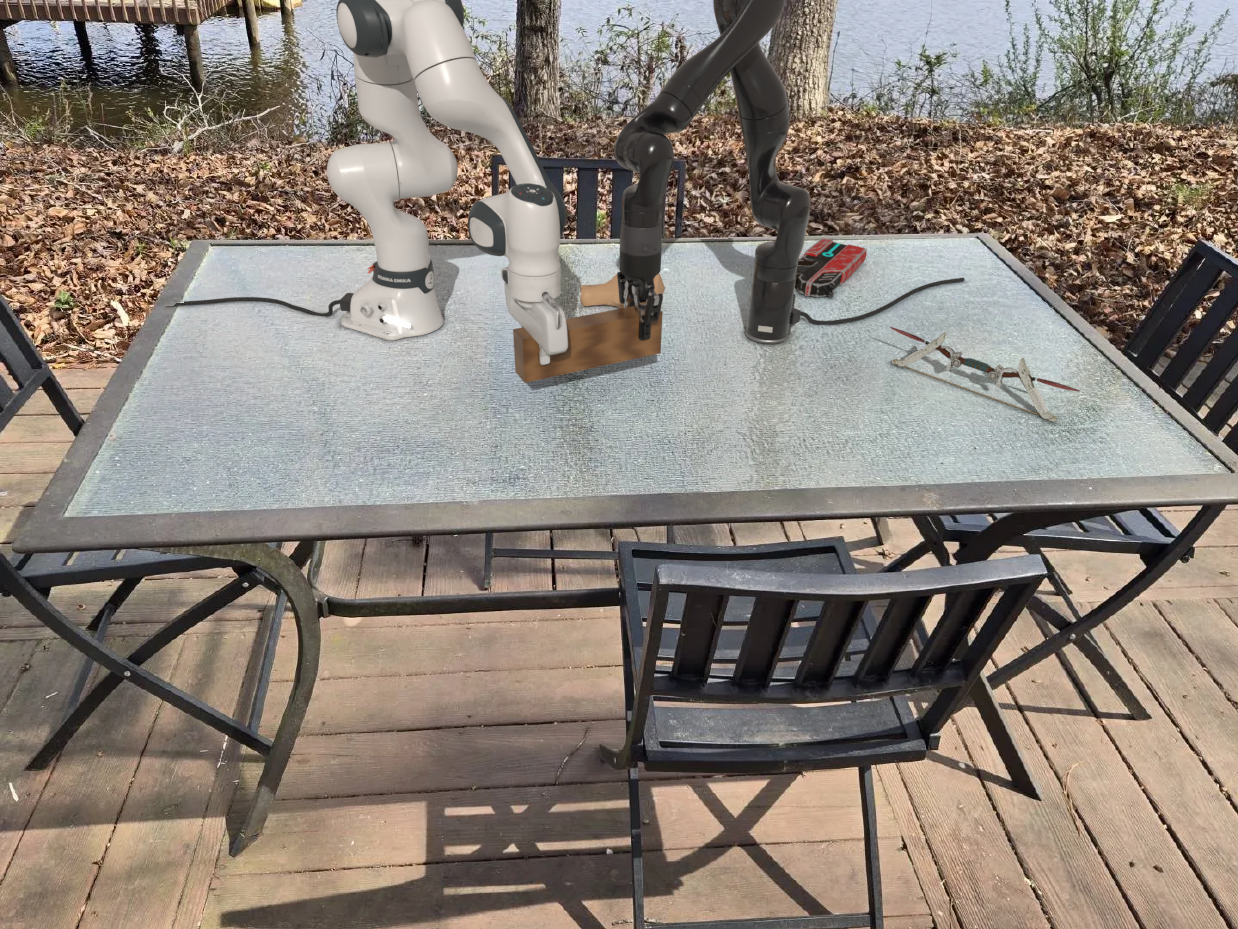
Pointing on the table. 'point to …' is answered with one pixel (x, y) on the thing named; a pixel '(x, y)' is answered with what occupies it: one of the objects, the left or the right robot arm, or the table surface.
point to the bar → (588, 344)
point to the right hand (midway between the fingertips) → (637, 333)
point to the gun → (827, 267)
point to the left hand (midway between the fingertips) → (537, 355)
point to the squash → (611, 292)
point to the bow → (994, 374)
